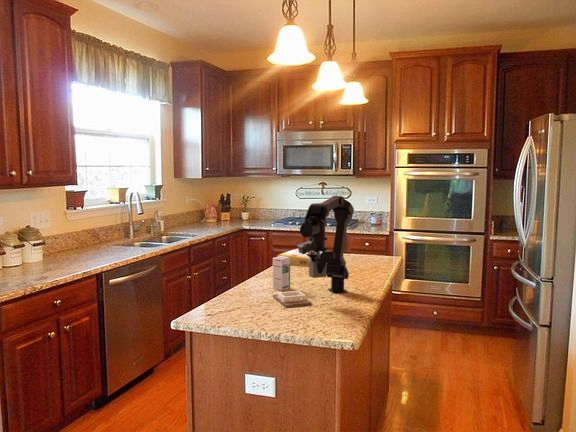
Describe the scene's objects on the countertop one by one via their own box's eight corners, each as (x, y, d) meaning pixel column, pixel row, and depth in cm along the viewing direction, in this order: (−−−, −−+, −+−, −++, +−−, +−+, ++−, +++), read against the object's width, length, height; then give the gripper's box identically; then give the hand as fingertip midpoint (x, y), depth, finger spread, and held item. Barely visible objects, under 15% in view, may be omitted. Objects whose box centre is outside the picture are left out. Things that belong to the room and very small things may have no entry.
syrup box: (281, 290, 209) (281, 258, 208) (272, 288, 213) (272, 257, 212) (290, 288, 213) (290, 257, 212) (281, 286, 217) (281, 255, 216)
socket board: (272, 297, 198) (272, 290, 198) (296, 295, 202) (296, 288, 202) (285, 307, 183) (285, 300, 183) (311, 305, 187) (311, 297, 187)
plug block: (308, 275, 191) (309, 261, 191) (322, 274, 194) (322, 260, 193) (313, 277, 188) (313, 263, 187) (326, 276, 190) (326, 262, 189)
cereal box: (276, 254, 269) (296, 247, 294) (276, 264, 270) (296, 255, 295) (309, 258, 261) (326, 250, 286) (309, 268, 261) (326, 259, 287)
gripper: (291, 232, 195) (290, 269, 196) (309, 238, 178) (309, 279, 179) (315, 231, 199) (314, 267, 200) (335, 237, 182) (334, 276, 183)
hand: (317, 272), depth 191 cm, fingers closed on plug block, 4 cm apart
